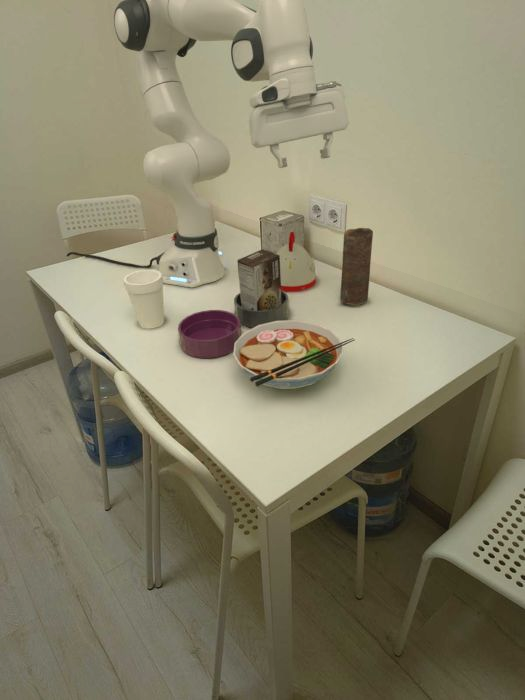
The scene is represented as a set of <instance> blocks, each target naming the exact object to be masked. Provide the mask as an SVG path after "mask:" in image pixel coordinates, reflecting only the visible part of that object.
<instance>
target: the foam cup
mask: <svg viewBox="0 0 525 700" xmlns="http://www.w3.org/2000/svg"><path fill="white" fill-rule="evenodd" d="M156 270H157V269H140V270H136V271H133V272H130V273H128V274H127V275H125V276H124V278H123V279H122V281H123V285H124V289H125V290H126V292H127V294H128V297H129V300H130V303H131V305H132V308H133V311H134V314H135V316H136V319H137V321H138V324H139V326H140V327H141V328H143V329H149V330H150V329H156V328H159V327H160V326H162V325H163V324H164V323H165V308H164V307H165V305H164V286H163V285H164V283H163V277H162V274H161V273H160V272H159V271H156Z"/></svg>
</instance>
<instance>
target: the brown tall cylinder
mask: <svg viewBox="0 0 525 700" xmlns="http://www.w3.org/2000/svg"><path fill="white" fill-rule="evenodd" d="M373 237H374V231H373V229H371V228H369V227H358V228H350V229H347V230H345V231H344V234H343V242H342V243H343V245H342V262H341V263H342V266H341V279H340V282H341V283H340V294H339V295H340V297H339V298H340V301H341V302H342V303H343V304H346V305H355V306H358V305H363V304H366V303H367V302H368V300H369V289H370V277H371V276H370V274H371V260H372V249H373Z"/></svg>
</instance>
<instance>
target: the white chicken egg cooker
mask: <svg viewBox="0 0 525 700" xmlns="http://www.w3.org/2000/svg"><path fill="white" fill-rule="evenodd" d="M295 241H296V236H295V233H294V231H290V233H289V236H288V243H286V244H284V245H282V246H281V247H280V248H279V250H278V251H277V252H276V254H277V255H280V276H281V290H282V291H284V292H285V293H286V292H291V293H293V292H302V291H307V290H309V289H311V288H312V287H314V286H315V284H316V282H317V273H316V266H315V261H314V260H315V259H314V257H313V256H311V255H310V254H309V252H308V251H307V250H306V249H305V248H304V247H303V246H302V245H301V244H298V243H296V242H295Z"/></svg>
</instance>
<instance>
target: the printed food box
mask: <svg viewBox="0 0 525 700" xmlns="http://www.w3.org/2000/svg"><path fill="white" fill-rule="evenodd" d="M237 270H238V271H237V272H238V282H239V293H240V295H241V306H242V307H243V308H245V309H249V310H257V311H260V310H269V309H273V308H276V307H278V306H281V305H282V299H281V276H280V255H277V253H274V252H272V251H270V250H266V249H263V248H262V249H260V250H258V251H255V252H253V253H251V254H248V255H246V256H243V257H241V258H238V259H237Z"/></svg>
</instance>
